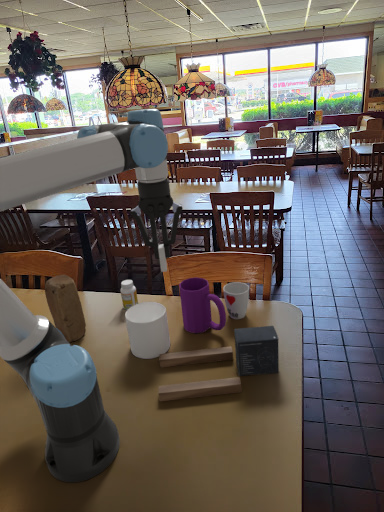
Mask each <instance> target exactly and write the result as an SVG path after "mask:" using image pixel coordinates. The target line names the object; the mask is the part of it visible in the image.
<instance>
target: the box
mask: <svg viewBox="0 0 384 512" xmlns="http://www.w3.org/2000/svg"><path fill="white" fill-rule="evenodd" d="M233 331H234V334H233V335H234V348H235V349H234V351H235V362H236V363H235V364H236V368H237V369H236V371H237V375H238V377H244V376H251V375H252V376H253V375H255V376H256V375H266V374H268V375H269V374H275V373H278V374H279V372H280V368H279V367H280V364H279V359H280V358H279V356H280V355H279V339H280V338H279V337H278V336H279V335H278V333H277V330H276V328H275V327H274V325H267V326H255V327H254V326H253V327H252V326H251V327H242V328H241V327H240V328H234V330H233Z"/></svg>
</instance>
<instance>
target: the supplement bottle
mask: <svg viewBox="0 0 384 512" xmlns="http://www.w3.org/2000/svg"><path fill="white" fill-rule="evenodd" d="M120 284H121V285H120V286H121V288H120V296H121V301H122V307H123V309H124V310H126V311H127V310H128V309H129V308H130V307H132V306H134V305H136V304H139V299H138V294H137V288H136V286H135V285H134V281H133V280H132V279H125V280H122V281H121V283H120Z"/></svg>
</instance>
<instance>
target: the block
mask: <svg viewBox="0 0 384 512" xmlns="http://www.w3.org/2000/svg"><path fill="white" fill-rule="evenodd" d="M77 288H78V287H77V286H76V283H75V281H74V278H71V277H70V276H68V275H66V274H58V275H56V276H53V277H51V278H49V279H48V280H47V281H46V282H45V284H44V294H45V295H44V296H45V299H46V304H47V307H48V309H49V312H50V315H51V316H52V320H53V323H54V324H53V325H54V327H55V328H57V329H58V330H59V331H60V332H61V333H62V334H63V336H64V337H65V339H66V340H67V341H68V342H69V343H72V342H74V341H75V342H76V341H78V340H79V339H81V338H83V336H84V335H85V334H86V331H87V329H86V327H87V324H86V319H85V315H84V310H83V305H82V302H81V298H80V296H79V291H78V289H77Z"/></svg>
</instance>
